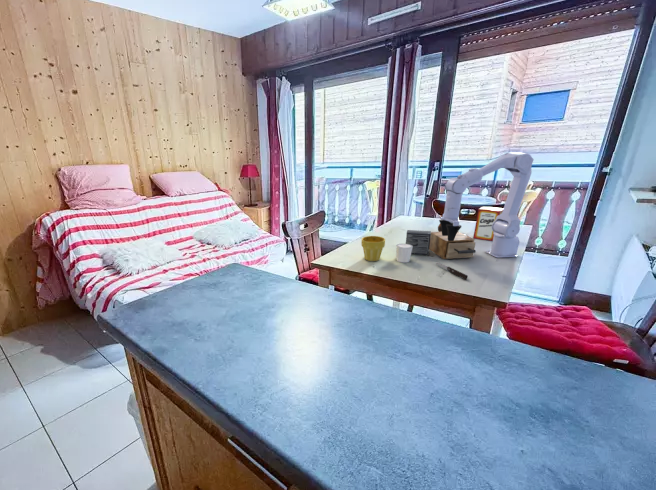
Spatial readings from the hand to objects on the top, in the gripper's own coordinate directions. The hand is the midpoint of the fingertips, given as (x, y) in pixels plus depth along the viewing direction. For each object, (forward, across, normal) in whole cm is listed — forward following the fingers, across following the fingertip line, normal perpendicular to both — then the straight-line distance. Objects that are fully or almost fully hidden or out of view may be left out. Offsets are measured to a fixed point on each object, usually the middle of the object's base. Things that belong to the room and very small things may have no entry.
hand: (447, 238), depth 144 cm
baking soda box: (+10, -32, +30) cm, 45 cm away
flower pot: (+10, 0, -32) cm, 33 cm away
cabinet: (+10, -8, +4) cm, 14 cm away
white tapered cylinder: (+10, +2, -18) cm, 21 cm away
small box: (+10, -9, -10) cm, 17 cm away
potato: (+6, -41, +14) cm, 44 cm away
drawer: (+9, -3, +5) cm, 11 cm away
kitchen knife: (+10, +15, -3) cm, 19 cm away
